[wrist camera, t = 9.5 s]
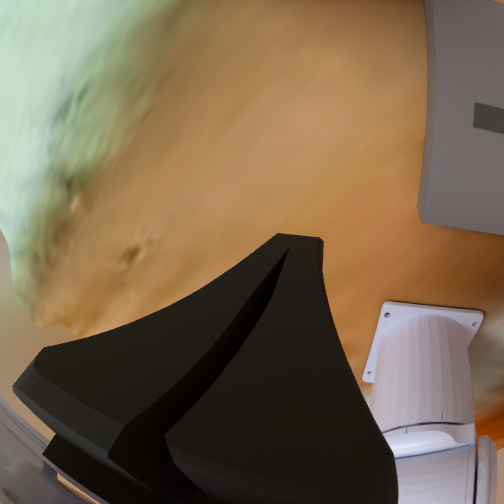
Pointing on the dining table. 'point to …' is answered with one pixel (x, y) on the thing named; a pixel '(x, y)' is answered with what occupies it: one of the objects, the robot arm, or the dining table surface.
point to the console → (464, 116)
